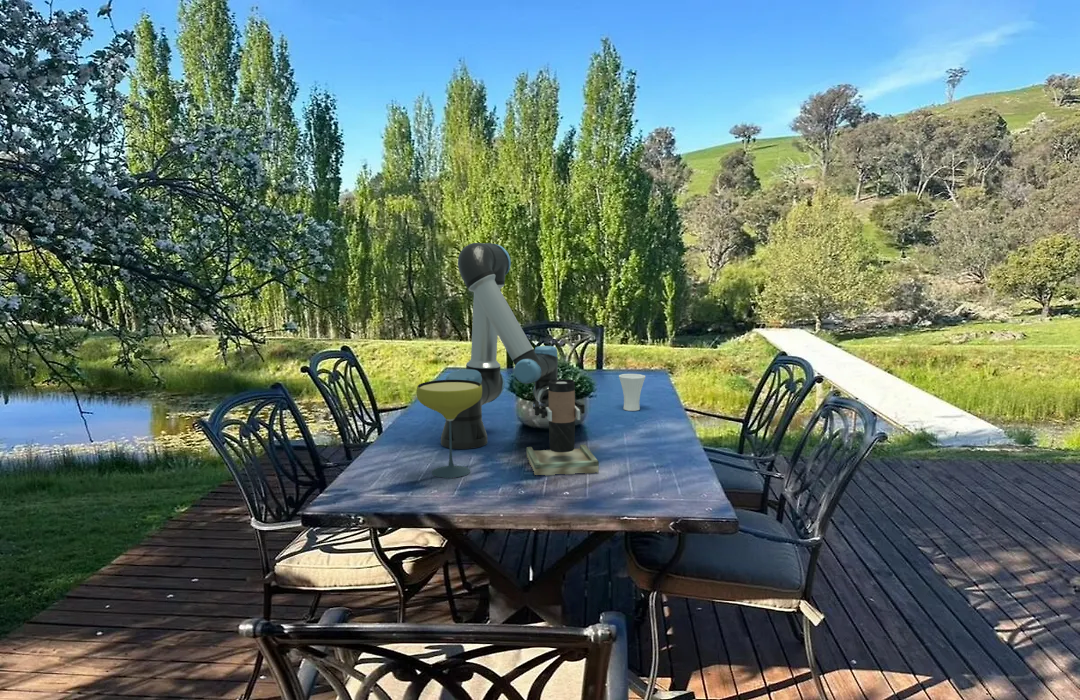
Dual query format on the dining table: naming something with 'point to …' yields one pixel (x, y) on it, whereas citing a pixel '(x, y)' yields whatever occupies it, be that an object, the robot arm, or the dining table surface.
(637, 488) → the dining table surface
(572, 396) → the travel mug
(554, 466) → the tray
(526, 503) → the dining table surface
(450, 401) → the cocktail glass
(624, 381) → the cup
